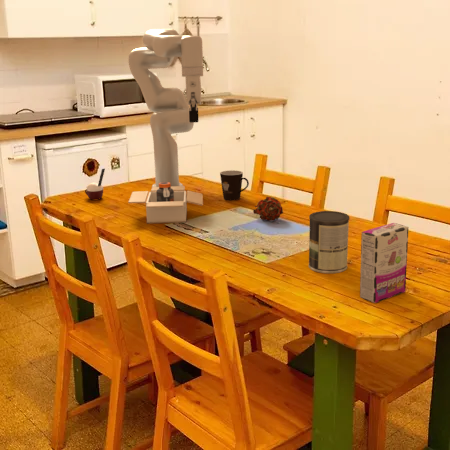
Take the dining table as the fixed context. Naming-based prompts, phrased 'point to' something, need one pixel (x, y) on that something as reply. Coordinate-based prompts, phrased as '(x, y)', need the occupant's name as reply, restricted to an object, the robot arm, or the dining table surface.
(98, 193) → the cocoa
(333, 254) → the coffee can
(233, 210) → the dining table surface
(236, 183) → the coffee mug
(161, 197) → the pill bottle
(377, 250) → the candy bar box
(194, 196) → the flap
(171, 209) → the carton
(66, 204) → the dining table surface
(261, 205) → the dark red rounded piece
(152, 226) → the dining table surface
